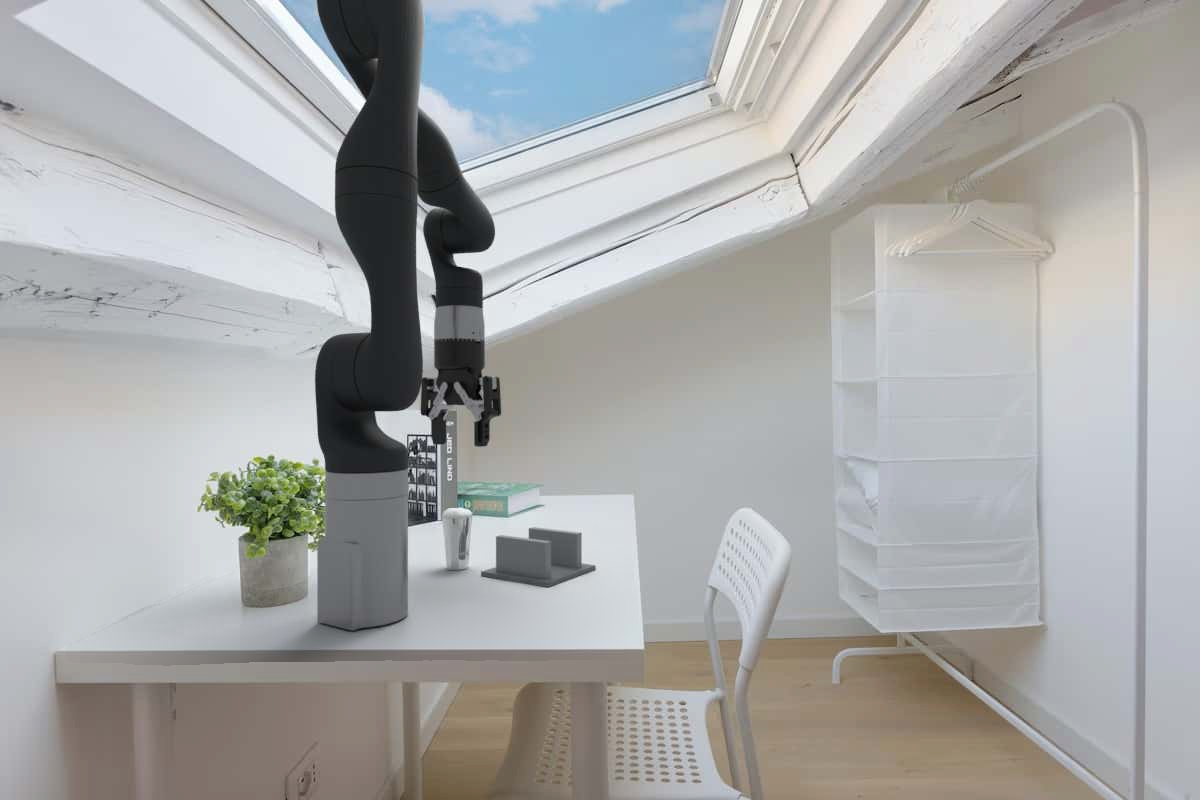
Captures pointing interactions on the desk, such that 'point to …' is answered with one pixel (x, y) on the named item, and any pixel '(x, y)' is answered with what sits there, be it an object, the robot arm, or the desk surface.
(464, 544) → the milkshake
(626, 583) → the desk surface
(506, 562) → the cradle
